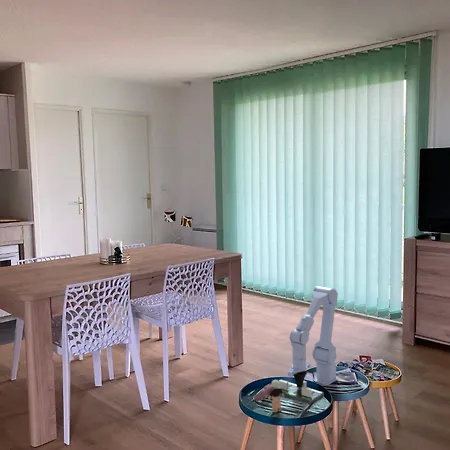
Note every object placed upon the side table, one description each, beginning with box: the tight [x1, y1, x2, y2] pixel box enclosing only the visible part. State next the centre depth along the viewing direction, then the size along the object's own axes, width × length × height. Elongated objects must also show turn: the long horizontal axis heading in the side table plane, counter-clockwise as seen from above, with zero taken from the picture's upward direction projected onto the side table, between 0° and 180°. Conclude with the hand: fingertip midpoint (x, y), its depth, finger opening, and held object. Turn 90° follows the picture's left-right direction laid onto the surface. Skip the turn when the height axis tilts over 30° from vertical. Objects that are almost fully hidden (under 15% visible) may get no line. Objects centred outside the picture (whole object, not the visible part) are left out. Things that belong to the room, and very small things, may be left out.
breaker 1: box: [278, 379, 289, 390], centre depth 225 cm, size 2×4×3 cm, turn 48°
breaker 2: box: [302, 386, 313, 397], centre depth 217 cm, size 2×4×3 cm, turn 48°
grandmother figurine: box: [267, 379, 285, 413], centre depth 207 cm, size 8×4×13 cm, turn 131°
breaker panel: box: [278, 381, 325, 405], centre depth 223 cm, size 11×19×2 cm, turn 48°
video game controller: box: [253, 383, 274, 402], centre depth 219 cm, size 10×5×7 cm, turn 143°
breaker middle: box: [297, 380, 308, 389], centre depth 224 cm, size 2×4×3 cm, turn 47°
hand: (299, 387), depth 223 cm, fingers closed
